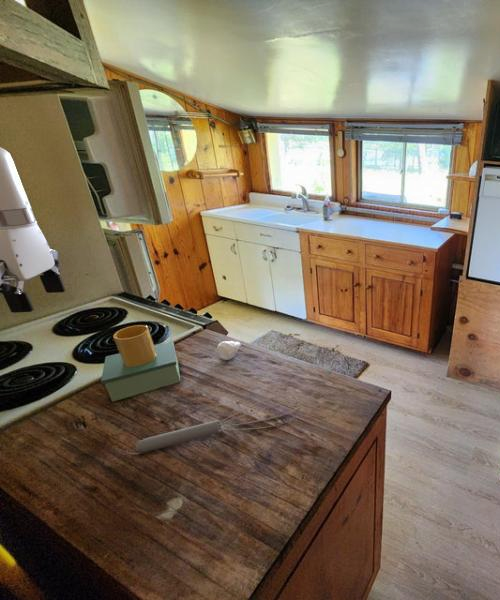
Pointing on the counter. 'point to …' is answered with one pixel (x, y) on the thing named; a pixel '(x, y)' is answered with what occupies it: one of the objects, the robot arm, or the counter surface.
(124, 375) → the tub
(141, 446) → the kitchen whisk
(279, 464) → the counter surface
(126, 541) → the counter surface
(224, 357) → the garlic bulb
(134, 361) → the cup
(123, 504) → the counter surface
